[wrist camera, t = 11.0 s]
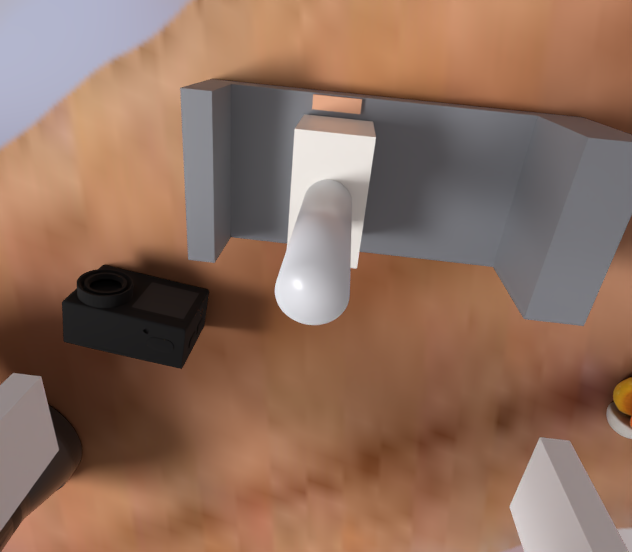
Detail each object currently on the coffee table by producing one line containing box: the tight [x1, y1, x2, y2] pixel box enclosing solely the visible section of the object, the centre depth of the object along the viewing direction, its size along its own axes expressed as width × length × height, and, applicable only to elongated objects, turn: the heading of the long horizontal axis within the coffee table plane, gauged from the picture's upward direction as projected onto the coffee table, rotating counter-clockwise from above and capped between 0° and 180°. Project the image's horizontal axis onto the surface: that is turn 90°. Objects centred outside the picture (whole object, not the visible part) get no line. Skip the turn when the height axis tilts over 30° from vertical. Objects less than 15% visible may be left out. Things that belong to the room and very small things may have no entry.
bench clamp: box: [180, 79, 632, 326], centre depth 33 cm, size 28×12×10 cm, turn 85°
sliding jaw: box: [275, 114, 376, 325], centre depth 28 cm, size 5×9×18 cm, turn 175°
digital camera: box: [62, 265, 209, 369], centre depth 41 cm, size 10×5×7 cm, turn 77°
